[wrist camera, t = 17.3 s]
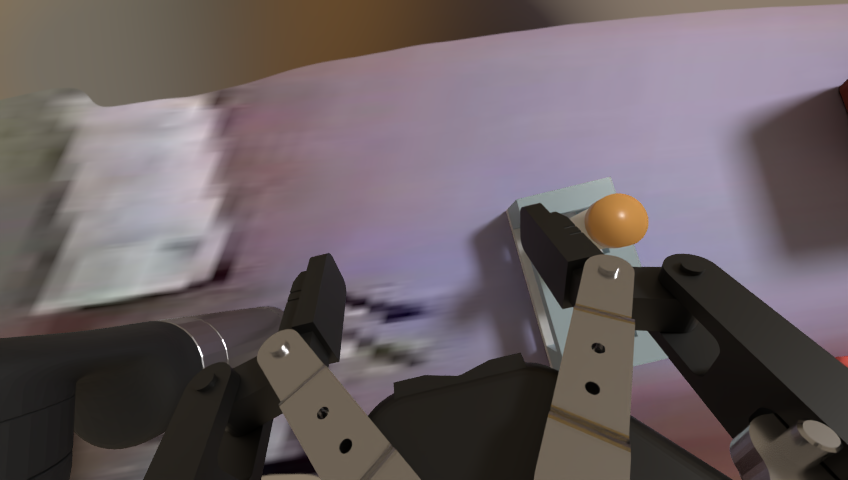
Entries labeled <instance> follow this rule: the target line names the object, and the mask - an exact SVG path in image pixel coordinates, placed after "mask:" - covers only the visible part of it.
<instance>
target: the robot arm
mask: <svg viewBox="0 0 848 480" xmlns="http://www.w3.org/2000/svg"><path fill="white" fill-rule="evenodd" d="M520 239H521V244H522V247H523V249H524V251H525V253H526V255H527V256H528V258H529V259H530V261H531V262H532V264H533V265H534V267H535V268H536V270H537V271H538V273H539V274H540V276H541V278H542V279H543V281H544V282H545V284H546V285H547V287H548V288H549V290H550V291H551V293H552V294H553V296H554V297H555V299H556V301H557V302H558V304H559V305H560V307H561V308H562V309H566V308H571V307H573V313H572V317H571V321H570V326H569V330H568V334H567V339H566V343H565V347H564V352H563V356H562V360H561V365H560V369H559V371H558V370H556V369H554V368H551V367H548V366H545V365H541V364H537V363H528V362H524V359H523V357H522V355H521V353H517V354H513V355H509V356H504V357H500V358H496V359H492V360H488V361H487V362H485V363H483V364H481V365H479V366H477V367H475V368H473V369H471V370H469V371H468V372H466V373H464V374H462V375H459V376H434V375H424V376H420V377H415V378H411V379H407V380H403V381H399V382H394V394H392V395H390V396H389V397H387V398H386V399H384V400H383V401H382V402H381V403H379V404H378V405H377V406H376V407H375V408H374V409H373V410H372V411H371V412H370V414H369V415H368V416H367V415H366V413H365V412H364V411H363V410H362V409H361V407H360V406H359V405H358V404H357V403H356V401H355V400H354V399H353V398H352V397H351V395H350V394H349V393H348V392H347V390H346V389H345V388H344V387H343V386H342V384H341V383H340V382H339V381H338V380H337V378H336V377H335V376H334V375H333V374H332V372H331V371H330V370H329V369H328V366H329V364H331V363H335V362H339V360H340V350H341V340H342V330H343V321H344V311H345V301H346V285H345V282H344V279H343V277H342V275H341V273H340V271H339V269H338V267H337V265H336V263H335V261H334V259H333V257H332V255H331V254H330V253H327V254H323V255H319V256H315V257H311V258H310V260H309V264H308V267H307V271H304V272H301V273H300V274H299V275H298V277H297V278H296V279H295V281H294V282H293V285H292V288H291V291H290V294H289V297H288V303H287V304H286V307H285V310H284V312H283V311H282V310H280V309H278V308H275V307H269V306H267V307H257V308H249V309H240V310H233V311H225V312H218V313H210V314H202V315H195V316H187V317H180V318H173V319H165V320H157V321H149V322H142V323H136V324H129V325H123V326H117V327H110V328H103V329H95V330H88V331H80V332H70V333H59V334H47V335H35V336H23V337H11V338H0V480H69V478H70V473H71V467H72V448H73V435H74V432H75V433H76V434H77V435H78V436H79V437H81V438H82V439H83V440H85V441H86V442H88V443H90V444H92V445H94V446H97V447H101V448H106V449H123V448H128V447H132V446H136V445H139V444H142V443H144V442H146V441H148V440H151V439H153V438H154V437H156V436H158V435H160V434H162V433H164V432H165V431H166V432H165V434H164V436H163V438H162V440H161V442H160V445H159V447H158V449H157V451H156V453H155V455H154V458H153V460H152V462H151V464H150V466H149V468H148V471H147V473H146V475H145V477H144V479H143V480H261V477H262V472H263V467H264V462H265V457H266V452H267V447H268V442H269V437H270V432H271V427H272V423H273V419H274V418H275V417H277V416H279V415H280V414H282V413H283V414H284V416H285V418H286V419H287V421H288V423H289V425H290V426H291V428H292V430H293V432H294V433H295V435H296V437H297V439H298V440H299V442H300V444H301V446H302V447H303V449H304V451H305V453H306V454H307V456H308V458H309V460H310V461H311V463H312V465H313V467H314V468H315V470H316V472H317V474H318V475H319V477H320V479H321V480H732V479H730V478H729V477H727V476H726V475H724V474H723V473H721V472H720V471H718V470H716V469H715V468H713V467H712V466H710V465H708V464H707V463H705V462H704V461H702V460H701V459H699V458H697V457H696V456H694V455H693V454H691V453H689V452H688V451H686V450H685V449H683V448H682V447H680V446H678V445H677V444H675V443H674V442H672V441H671V440H669V439H667V438H666V437H664V436H663V435H661V434H659V433H658V432H656V431H655V430H653V429H652V428H650V427H648V426H647V425H645V424H644V423H642V422H640V421H639V420H637V419H636V418H634V417H633V416H631V415H630V409H631V391H632V373H633V355H634V337H635V330H638V331H648V333H649V334H650V335H651V336H652V338H653V339H654V340H655V341H656V343H657V344H658V345H659V346H660V348H661V349H662V350H663V351H664V353H665V354H666V355H667V356H668V358H669V359H670V360H671V361H672V363H673V364H674V365H675V367H676V368H677V369H678V370H679V372H680V373H681V374H682V375H683V377H684V378H685V379H686V380H687V382H688V383H689V384H690V385H691V387H692V388H693V389H694V390H695V392H696V393H697V394H698V395H699V397H700V398H701V399H702V401H703V402H704V403H705V404H706V406H707V407H708V408H709V409H710V411H711V412H712V413H713V414H714V416H715V417H716V418H717V419H718V421H719V422H720V423H721V424H722V426H723V427H724V428H725V429H726V431H727V432H728V433H729V434H730V436H731V437H732V438H733V440H732V442H731V444H730V454H731V458H732V460H733V462H734V464H735V466H736V468H737V469H738V471H739V474H740V477H741V479H742V480H848V368H847V367H846V366H845V365H844V364H842V363H841V362H840V361H839V360H837V359H836V358H835V357H833V356H832V355H831V354H830V353H828V352H827V351H826V350H824V349H823V348H822V347H821V346H819V345H818V344H817V343H815V342H814V341H813V340H812V339H810V338H809V337H808V336H807V335H805V334H804V333H803V332H801V331H800V330H799V329H798V328H796V327H795V326H794V325H792V324H791V323H790V322H789V321H787V320H786V319H785V318H783V317H782V316H781V315H780V314H778V313H777V312H776V311H774V310H773V309H772V308H771V307H769V306H768V305H767V304H766V303H764V302H763V301H762V300H760V299H759V298H758V297H757V296H755V295H754V294H753V293H751V292H750V291H749V290H748V289H746V288H745V287H744V286H742V285H741V284H740V283H739V282H737V281H736V280H735V279H733V278H732V277H731V276H730V275H728V274H727V273H726V272H725V271H723V270H722V269H721V268H719V267H718V266H717V265H716V264H714V263H713V262H711V261H709V260H707V259H705V258H702V257H699V256H695V255H690V254H675V255H671V256H669V257H667V258H666V259H665V260H664V262H663V264H662V267H632V265H631V264H630V263H628V262H627V261H626V260H624V259H622V258H620V257H617V256H613V255H606V254H604V253H603V252H602V251H601V250H600V249H599V248H598V247H597V246H596V245H595V244H594V243H593V242H592V241H591V240H590V239H589V238H588V237H587V236H586V235H585V234H584V233H583V232H581V230H580V229H579V228H578V227H577V226H575V224H574V223H573V222H572V221H571V220H570V219H569V218H568V217H567V216H564V215H562V214H560V213H558V212H556V211H555V212H551V213H550V212H549V211H548V210H547V209H546V208H545V207H544V206H543V204H541V203H537V204H532V205H528V206H524V207H521V209H520Z"/></svg>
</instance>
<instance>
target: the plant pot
mask: <svg viewBox="0 0 848 480" xmlns="http://www.w3.org/2000/svg"><path fill="white" fill-rule="evenodd" d="M839 90H840V94H841V96H842V99H843V101H844V104H845V107H846V109H847V112H848V79H847V80H846V81H845V82H844V83H843V84H842V85H841V86H840V89H839Z"/></svg>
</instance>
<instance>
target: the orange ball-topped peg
mask: <svg viewBox="0 0 848 480" xmlns="http://www.w3.org/2000/svg"><path fill="white" fill-rule="evenodd" d="M569 219H570V220H571V221H572V222H573V223H574V224H575V226H577V227H578V228H579V229H580V230H581V232H583V233H584V234H585V235H586V236H587V237H588V238H589V239H590V240H591V241H592V242H593V243H594V244H595V245H596V246H597V247H598V248H599V249H605V248H621V247H626V246H630V245H633V244H635V243H637V242H638V241H640V240H641V239H642V238H643V237H644V235H645V233H646V231H647V229H648V216H647V213H646V210H645V208H644V207H643V206H642V204H641V203H640V202H639V201H638V200H636V199H635V198H633V197H631V196H629V195H626V194H611V195H608V196H605V197H603V198H602V199H600V200H598V201H596V202H595V203H593V204H592V205H591V206H590V207H589V208H588V209H586V210H585V211H583V212H581V213H579V214H577V215H575V216H573V217H571V218H569Z"/></svg>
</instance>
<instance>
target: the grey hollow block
mask: <svg viewBox="0 0 848 480" xmlns="http://www.w3.org/2000/svg"><path fill="white" fill-rule="evenodd" d="M611 194H616V191H615V188H614V186H613V183H612V180H611V177H608V178H604V179H600V180H595V181H591V182H587V183H583V184H579V185H575V186H571V187H566V188H562V189H558V190H554V191H550V192H546V193H542V194H537V195H533V196H529V197H525V198H521V199H517V200H516V201H515V202H514V203H513V204H512V205H511V206H510V207H509V208H508V209H507V210H506V213H507V217H508V221H509V224H510V228H511V231H512V235H513V238H514V242H515V245H516V249H517V252H518V256H519V259H520V263H521V266H522V270H523V273H524V277H525V280H526V284H527V287H528V291H529V294H530V298H531V301H532V305H533V308H534V312H535V315H536V319H537V322H538V326H539V329H540V333H541V336H542V340H543V343H544V347H545V350H546V354H547V357H548V361H549V364H550V367H551V368H554V369H556V370H558V371H559V369H560V365H561V360H562V356H563V352H564V347H565V343H566V339H567V334H568V330H569V326H570V321H571V317H572V313H573V307H571V308H566V309H562V308H561V307H560V305H559V304H558V302H557V301H556V299H555V297H554V296H553V294H552V293H551V291H550V290H549V288H548V287H547V285H546V284H545V282H544V281H543V279H542V278H541V276H540V274H539V273H538V271H537V270H536V268H535V267H534V265H533V264H532V262H531V261H530V259H529V258H528V256H527V255H526V253H525V251H524V249H523V247H522V244H521V239H520V209H521V207H524V206H528V205H532V204H537V203H541V204H543V206H544V207H545V208H546V209H547V210H548V211H549V212H550V213H551V212H555V211H556V212H558V213H560V214H562V215H564V216H567V217H568V218H571V217H573V216H575V215H577V214H579V213H581V212H583V211H585V210H586V209H588V208H589V207H590V206H591V205H592V204H593V203H595V202H596V201H598V200H600V199H602V198H603V197H605V196H608V195H611ZM600 250H601V251H602V252H603V253H604V254H606V255H613V256H617V257H620V258H622V259H624V260H626V261H627V262H628V263H630V264H631V265H632V267H641V264H640V261H639V258H638V255H637V252H636V249H635V246H634V244H633V245H630V246H626V247H621V248H605V249H600ZM667 358H668V356H667V355H666V354H665V353H664V351H663V350H662V349H661V348H660V346H659V345H658V344H657V343H656V341H655V340H654V339H653V338H652V336H651V335H650V334H649V333H648V331H638V330H635V337H634V355H633V366H637V365H641V364H645V363H650V362H654V361H658V360H662V359H667Z"/></svg>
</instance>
